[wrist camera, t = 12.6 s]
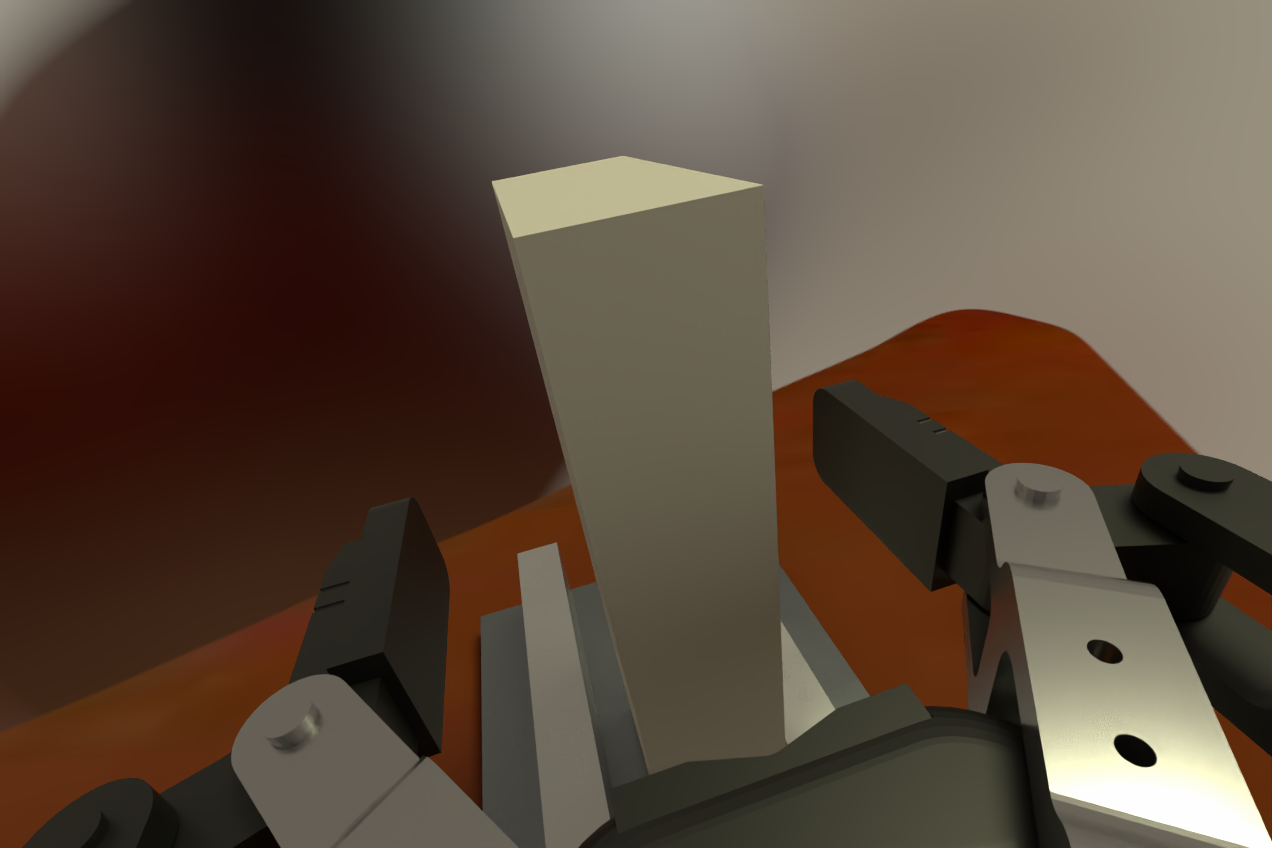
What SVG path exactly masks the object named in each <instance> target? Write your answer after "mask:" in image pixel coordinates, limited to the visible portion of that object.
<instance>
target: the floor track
mask: <svg viewBox="0 0 1272 848" xmlns="http://www.w3.org/2000/svg"><path fill="white" fill-rule="evenodd" d="M518 564H519V575H520V585H521V595H522V604H521V605H518V606H515V607H512V608H508V609H505V610H502V611H498V612H495V613H492V614H488V615H485V616H482V617H481V694H482V795H483V812H484V813H485V814H486V815H487V816H488V817H489V818H490V819H491V820H492V821H493V822H494V823H495V824H496V825H497V826H498V827H499V828H500V829H501V830H502V831H503V832H504V833H505V834H506V835H507V836H508V837H509V838H510V839H511V840H512V841H513V842H514V843H515V844H516V845H517V846H518V847H519V848H578V847H579V846H580V845H581V844H582V843H583V842H584V841H585V840H586V839H587V838H588V837H589V836H590V835H591V834H592V833H593V832H594V831H596V830H597V829H598V828H599V827H600V826H601V825H603V824H604V823H605V822H607V821H608V820H610V819H611V818H612V817H614V812H613V807H612V802H611V797H610V792H609V789H612V788H615V787H617V786H620V785H623V784H626V783H629V782H631V781H634V780H637V779H640V778H643V777H645V776H648V775H649V774H648V771H647V767H646V763H645V760H644V756H643V752H642V749H641V745H640V741H639V738H638V734H637V731H636V727H635V723H634V720H633V716H632V712H631V709H630V705H629V701H628V697H627V694H626V690H625V686H624V682H623V678H622V675H621V671H620V667H619V663H618V659H617V656H616V652H615V648H614V644H613V640H612V637H611V633H610V629H609V625H608V621H607V618H606V614H605V610H604V606H603V602H602V599H601V595H600V591H599V587H598V583H597V582H595V583H591V584H588V585H585V586H581V587H578V588H575V589H570V585H569V582H568V578H567V575H566V572H565V568H564V565H563V562H562V558H561V555H560V552H559V548H558V545H557V543H553V544H550V545H546V546H543V547H539V548H536V549H532V550H529V551H525V552H522V553H518ZM778 564H779V563H778ZM779 590H780V616H781V642H782V668H783V694H784V720H785V745H786V746H787V745H788V744H789V743H791V742H792V741H794V740H795V739H796V738H798V737H799V736H800V735H802V734H803V733H804V732H806V731H807V730H808V729H810V728H811V727H813V726H814V725H815V724H817V723H818V722H819V721H821V720H822V719H823V718H825V717H826V716H827V715H829V714H830V713H831V712H833V711H834V710H836V709H837V708H839V707H842V706H845V705H847V704H850V703H853V702H856V701H859V700H861V699H864V698H867V697H870V696H869V694H868V693H867V691H866V690H865V688H864V687H863V685H862V684H861V683H860V681H859V680H858V678H857V677H856V675H855V674H854V672H853V671H852V669H851V668H850V667H849V665H848V664H847V662H846V661H845V659H844V658H843V656H842V655H841V653H840V652H839V651H838V649H837V648H836V646H835V645H834V643H833V642H832V640H831V639H830V637H829V636H828V635H827V633H826V632H825V630H824V629H823V627H822V626H821V624H820V623H819V621H818V620H817V619H816V617H815V616H814V614H813V613H812V611H811V610H810V608H809V607H808V605H807V604H806V603H805V601H804V600H803V598H802V597H801V595H800V594H799V592H798V591H797V589H796V588H795V587H794V585H793V584H792V582H791V581H790V579H789V578H788V576H787V575H786V573H785V572H784V571H783V569H782V568H781V566H780V565H779Z"/></svg>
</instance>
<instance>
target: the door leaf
mask: <svg viewBox="0 0 1272 848" xmlns="http://www.w3.org/2000/svg"><path fill="white" fill-rule="evenodd" d="M492 185H493V188H494V192H495V196H496V200H497V204H498V207H499V211H500V214H501V219H502V223H503V226H504V230H505V234H506V238H507V242H508V245H509V249H510V253H511V257H512V261H513V264H514V268H515V272H516V276H517V279H518V283H519V287H520V291H521V295H522V299H523V302H524V306H525V310H526V314H527V318H528V321H529V325H530V329H531V333H532V337H533V340H534V344H535V348H536V352H537V356H538V359H539V363H540V367H541V370H542V375H543V378H544V382H545V386H546V390H547V394H548V397H549V401H550V405H551V409H552V413H553V416H554V420H555V424H556V427H557V432H558V435H559V439H560V443H561V447H562V451H563V454H564V458H565V462H566V466H567V469H568V473H569V477H570V480H571V485H572V489H573V492H574V496H575V500H576V504H577V507H578V511H579V515H580V519H581V523H582V526H583V530H584V534H585V538H586V542H587V545H588V549H589V553H590V557H591V561H592V564H593V568H594V572H595V576H596V580H597V583H598V587H599V591H600V595H601V599H602V602H603V606H604V610H605V614H606V618H607V621H608V625H609V629H610V633H611V637H612V640H613V644H614V648H615V652H616V656H617V659H618V663H619V667H620V671H621V675H622V678H623V682H624V686H625V690H626V694H627V697H628V701H629V705H630V709H631V712H632V716H633V720H634V723H635V727H636V731H637V734H638V738H639V741H640V745H641V749H642V752H643V756H644V760H645V763H646V767H647V771H648V774H649V775H651V774H654V773H657V772H660V771H662V770H665V769H668V768H671V767H674V766H676V765H679V764H682V763H685V762H692V761H705V760H718V759H731V758H745V757H758V756H767V755H772V754H774V753H777V752H778V751H780V750H781V749H783V748H784V747H785V746H786V745H785V720H784V694H783V668H782V642H781V616H780V590H779V564H778V538H777V512H776V486H775V461H774V435H773V409H772V386H771V385H772V384H771V359H770V358H771V357H770V331H769V305H768V280H767V253H766V228H765V203H764V185H761V184H756V183H752V182H747V181H742V180H737V179H732V178H727V177H722V176H717V175H713V174H708V173H703V172H698V171H694V170H689V169H683V168H679V167H674V166H669V165H665V164H659V163H654V162H650V161H645V160H640V159H636V158H631V157H626V156H620V157H615V158H609V159H605V160H599V161H594V162H589V163H584V164H579V165H574V166H569V167H564V168H558V169H554V170H548V171H543V172H538V173H533V174H528V175H523V176H518V177H513V178H507V179H502V180H497V181H492Z"/></svg>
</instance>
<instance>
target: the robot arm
mask: <svg viewBox="0 0 1272 848" xmlns="http://www.w3.org/2000/svg"><path fill="white" fill-rule="evenodd" d="M813 458H814V463H815V466H816V469H817V472H818V474H819V476H820V477H821V479H822V480H823V482H824V483H825V484H826V485H827V486H828V487H829V488H830V489H831V490H832V491H833V492H834V493H835V494H836V495H837V496H838V497H839V498H840V499H841V500H842V501H843V502H844V503H845V504H846V505H847V506H848V507H849V509H850V510H851V511H852V512H853V513H854V514H855V515H856V516H857V517H858V518H859V519H860V520H861V521H862V522H863V523H864V524H865V525H866V526H867V527H868V528H869V529H870V530H871V531H872V532H873V533H874V534H875V535H876V536H877V537H878V538H879V539H880V540H881V541H882V542H883V543H884V544H885V545H886V546H887V547H888V549H889V550H890V551H891V552H892V553H893V554H894V555H895V556H896V557H897V558H898V559H899V560H900V561H901V562H902V563H903V564H904V565H905V566H906V567H907V568H908V569H909V570H910V571H911V572H912V573H913V574H914V575H915V576H916V577H917V578H918V579H919V580H920V581H921V582H922V583H923V584H924V585H925V586H926V587H927V589H928V590H929V591H930V592H932V591H935V590H938V589H941V588H944V587H947V586H950V585H953V584H956V583H957V584H958V585H959V586H960V587H961V588H962V589H963V590H964V593H963V599H962V615H963V628H964V642H965V655H966V668H967V682H968V710H966V709H960V708H954V707H939V706H923V704H922V703H921V702H920V701H919V699H918V698H917V697H916V695H915V694H914V693H913V691H912V690H911V689H910V688H909V686H908V685H907V684H904V685H901V686H898V687H895V688H892V689H890V690H887V691H884V692H881V693H878V694H875V695H873V696H870V697H867V698H864V699H861V700H859V701H856V702H853V703H850V704H847V705H845V706H842V707H839V708H837V709H836V710H834V711H833V712H831V713H830V714H829V715H827V716H826V717H825V718H823V719H822V720H821V721H819V722H818V723H817V724H815V725H814V726H813V727H811V728H810V729H808V730H807V731H806V732H804V733H803V734H802V735H800V736H799V737H798V738H796V739H795V740H794V741H792V742H791V743H789V744H788V745H787V746H785V747H784V748H783V749H781V750H780V751H778V752H777V753H774V754H772V755H767V756H758V757H745V758H731V759H718V760H705V761H692V762H685V763H682V764H679V765H676V766H674V767H671V768H668V769H665V770H662V771H660V772H657V773H654V774H651V775H648V776H645V777H643V778H640V779H637V780H634V781H631V782H629V783H626V784H623V785H620V786H617V787H615V788H612V789H609V792H610V797H611V802H612V807H613V812H614V817H612V818H611V819H610V820H608V821H607V822H605V823H604V824H603V825H601V826H600V827H599V828H598V829H597V830H596V831H594V832H593V833H592V834H591V835H590V836H589V837H588V838H587V839H586V840H585V841H584V842H583V843H582V844H581V845H580V846H579V847H578V848H1272V842H1271V839H1270V837H1269V835H1268V833H1267V830H1266V828H1265V826H1264V823H1263V821H1262V819H1261V817H1260V814H1259V812H1258V810H1257V808H1256V805H1255V803H1254V801H1253V799H1252V796H1251V794H1250V792H1249V789H1248V787H1247V785H1246V783H1245V780H1244V778H1243V776H1242V774H1241V771H1240V769H1239V767H1238V765H1237V762H1236V760H1235V758H1234V755H1233V753H1232V751H1231V749H1230V746H1229V744H1228V742H1227V740H1226V737H1225V735H1224V733H1223V731H1222V728H1221V726H1220V724H1219V721H1218V719H1217V717H1216V715H1215V712H1214V710H1213V708H1212V707H1214V708H1215V709H1216V710H1217V711H1218V712H1219V713H1221V714H1222V715H1223V716H1224V717H1225V718H1227V719H1228V720H1229V721H1230V722H1231V723H1232V724H1234V725H1235V726H1236V727H1237V728H1238V729H1240V730H1241V731H1242V732H1243V733H1244V734H1245V735H1247V736H1248V737H1249V738H1250V739H1251V740H1253V741H1254V742H1255V743H1256V744H1257V745H1258V746H1260V747H1261V748H1262V749H1263V750H1264V751H1266V752H1267V753H1268V754H1269V755H1270V756H1272V631H1270V630H1269V629H1267V628H1266V627H1264V626H1263V625H1261V624H1260V623H1258V622H1257V621H1255V620H1254V619H1252V618H1251V617H1249V616H1248V615H1247V614H1245V613H1244V612H1242V611H1241V610H1239V609H1238V608H1236V607H1235V606H1233V605H1232V604H1230V603H1229V602H1227V601H1226V600H1224V599H1223V598H1221V597H1220V596H1221V594H1222V592H1223V590H1224V588H1225V586H1226V584H1227V582H1228V581H1229V579H1230V577H1231V575H1232V573H1233V571H1235V572H1236V573H1238V574H1239V575H1241V576H1242V577H1244V578H1246V579H1247V580H1249V581H1250V582H1252V583H1254V584H1255V585H1257V586H1258V587H1260V588H1261V589H1263V590H1265V591H1266V592H1268V593H1269V594H1271V595H1272V482H1271V481H1269V480H1267V479H1265V478H1263V477H1261V476H1259V475H1257V474H1255V473H1253V472H1251V471H1249V470H1246V469H1244V468H1242V467H1240V466H1237V465H1235V464H1232V463H1229V462H1227V461H1224V460H1220V459H1217V458H1212V457H1208V456H1203V455H1197V454H1188V453H1166V454H1160V455H1155V456H1152V457H1150V458H1148V459H1146V460H1145V461H1144V462H1143V464H1142V466H1141V469H1140V472H1139V475H1138V477H1137V480H1136V483H1135V484H1127V485H1109V486H1092V487H1089V486H1088V485H1087V484H1085V483H1084V482H1083V481H1082V480H1080V479H1079V478H1077V477H1075V476H1074V475H1071V474H1069V473H1067V472H1065V471H1062V470H1060V469H1057V468H1053V467H1050V466H1045V465H1040V464H1032V463H1013V464H1006V465H1003V464H1002V463H1000V462H998V461H997V460H995V459H994V458H992V457H991V456H989V455H988V454H986V453H984V452H983V451H981V450H980V449H978V448H977V447H975V446H974V445H972V444H971V443H969V442H967V441H966V440H964V439H963V438H961V437H960V436H958V435H957V434H955V433H953V432H952V431H950V430H949V431H947V430H946V427H944V426H943V425H941V424H939V423H938V422H936V421H935V420H930V417H929V416H927V415H926V414H924V413H922V412H921V411H919V410H918V409H916V408H915V407H913V406H912V405H910V404H907V403H904V402H901V401H897V400H894V399H891V398H888V397H885V396H883V397H880V396H879V395H877V394H876V393H874V392H873V391H871V390H870V389H868V388H867V387H865V386H864V385H862V384H861V383H859V382H858V381H855V380H850V381H847V382H843V383H839V384H836V385H832V386H828V387H824V388H821V389H818V390H817V391H816V392H815V394H814V398H813ZM320 590H321V593H320V594H318V597H317V600H316V603H315V606H314V610H315V613H312V615H311V619H310V622H309V625H308V628H307V631H306V634H305V637H304V640H303V643H302V646H301V649H300V652H299V655H298V658H297V661H296V664H295V667H294V670H293V673H292V676H291V679H290V682H289V685H288V686H286V687H284V688H282V689H281V690H279V691H278V692H276V693H275V694H273V695H272V696H271V697H269V698H268V699H267V700H266V701H265V702H264V703H262V704H261V705H260V706H259V707H258V708H257V709H256V710H255V711H254V712H253V714H252V715H251V716H250V717H249V718H248V720H247V721H246V722H245V724H244V725H243V727H242V728H241V730H240V732H239V733H238V735H237V737H236V739H235V742H234V745H233V748H232V752H231V753H230V754H228V755H226V756H225V757H223V758H222V759H220V760H218V761H216V762H215V763H213V764H211V765H209V766H208V767H206V768H204V769H202V770H201V771H199V772H197V773H195V774H194V775H192V776H190V777H188V778H187V779H185V780H183V781H181V782H180V783H178V784H176V785H174V786H173V787H171V788H169V789H167V790H166V791H164V792H162V793H160V794H159V793H158V792H156V791H155V790H154V789H153V788H152V787H151V786H150V785H149V784H148V783H146V782H145V781H144V780H141V779H138V778H126V779H119V780H116V781H113V782H109V783H107V784H104V785H102V786H100V787H97V788H95V789H94V790H92V791H90V792H88V793H86V794H84V795H83V796H81V797H80V798H78V799H76V800H75V801H73V802H72V803H70V804H69V805H68V806H66V807H65V808H64V809H62V810H61V811H60V812H58V813H57V814H56V815H55V816H54V817H53V818H51V819H50V820H49V821H48V822H47V823H46V824H45V825H44V826H42V827H41V828H40V829H39V830H38V831H37V832H36V833H35V834H34V835H33V836H32V838H31V839H30V840H29V841H28V842H27V843H26V844H25V845H24V846H23V848H519V847H518V846H517V845H516V844H515V843H514V842H513V841H512V840H511V839H510V838H509V837H508V836H507V835H506V834H505V833H504V832H503V831H502V830H501V829H500V828H499V827H498V826H497V825H496V824H495V823H494V822H493V821H492V820H491V819H490V818H489V817H488V816H487V815H486V814H485V813H484V812H483V811H482V810H481V809H480V808H479V807H478V806H477V805H476V804H475V803H474V802H473V801H472V800H471V799H470V798H469V797H468V796H467V795H466V794H465V793H464V792H463V791H462V790H461V789H460V788H459V787H458V786H457V785H456V784H455V783H454V782H453V781H452V780H451V779H450V778H449V777H448V776H447V775H446V774H445V773H444V772H443V771H442V770H441V769H440V768H439V767H438V766H437V765H436V764H435V763H434V762H433V761H432V760H431V759H429V758H428V757H430V756H433V755H436V754H439V753H441V748H442V729H443V710H444V691H445V672H446V653H447V634H448V615H449V596H450V586H449V578H448V573H447V568H446V565H445V562H444V559H443V557H442V554H441V552H440V550H439V547H438V545H437V543H436V541H435V538H434V536H433V534H432V532H431V529H430V527H429V525H428V522H427V520H426V518H425V516H424V514H423V512H422V509H421V507H420V505H419V503H418V501H417V500H416V499H415V498H414V497H411V498H407V499H403V500H400V501H396V502H392V503H388V504H385V505H381V506H377V507H373V508H371V509H370V510H369V513H368V516H367V520H366V524H365V527H364V531H363V535H362V539H359V540H356V541H352V542H348V543H346V544H345V545H344V547H343V548H342V549H341V550H340V552H339V553H338V555H336V557H335V558H334V559H333V560H332V562H331V563H330V564H329V565H328V567H327V570H326V573H325V576H324V579H323V582H322V585H321V588H320Z"/></svg>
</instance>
